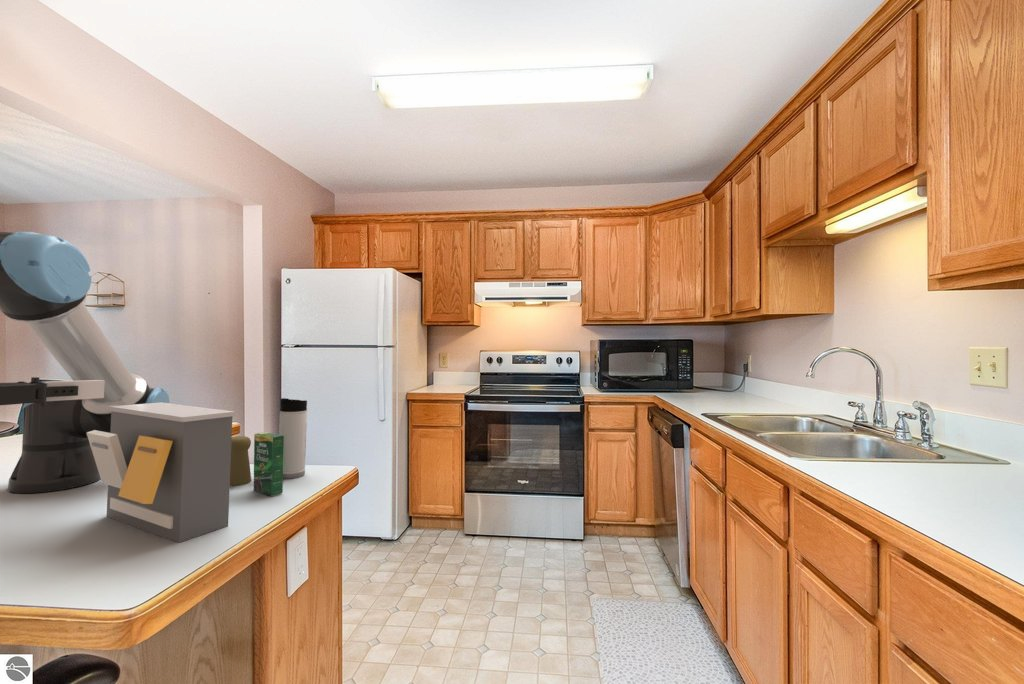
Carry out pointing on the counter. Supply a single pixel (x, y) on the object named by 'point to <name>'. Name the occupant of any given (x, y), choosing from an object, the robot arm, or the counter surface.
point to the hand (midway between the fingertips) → (101, 388)
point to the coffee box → (268, 463)
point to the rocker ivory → (108, 457)
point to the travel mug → (293, 436)
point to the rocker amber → (145, 469)
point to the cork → (240, 461)
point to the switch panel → (177, 468)
